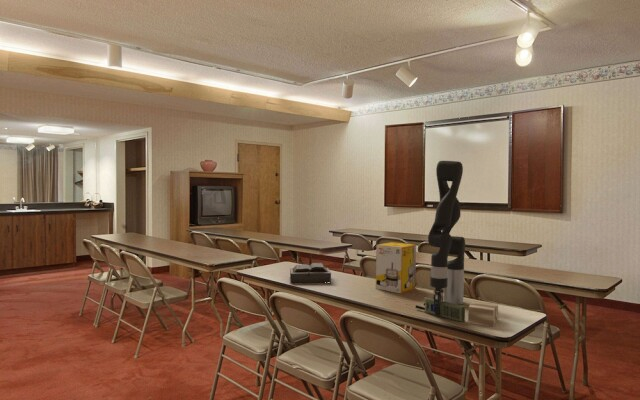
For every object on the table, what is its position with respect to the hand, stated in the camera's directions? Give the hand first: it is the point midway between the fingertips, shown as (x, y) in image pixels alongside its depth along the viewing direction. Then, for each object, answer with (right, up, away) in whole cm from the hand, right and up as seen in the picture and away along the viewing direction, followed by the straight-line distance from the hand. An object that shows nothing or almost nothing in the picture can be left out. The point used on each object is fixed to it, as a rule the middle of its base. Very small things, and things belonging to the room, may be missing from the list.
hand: (438, 314), depth 201 cm
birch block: (+18, -1, -7) cm, 19 cm away
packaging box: (-10, +1, +53) cm, 54 cm away
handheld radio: (0, -1, +1) cm, 1 cm away
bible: (-59, +2, +72) cm, 93 cm away
